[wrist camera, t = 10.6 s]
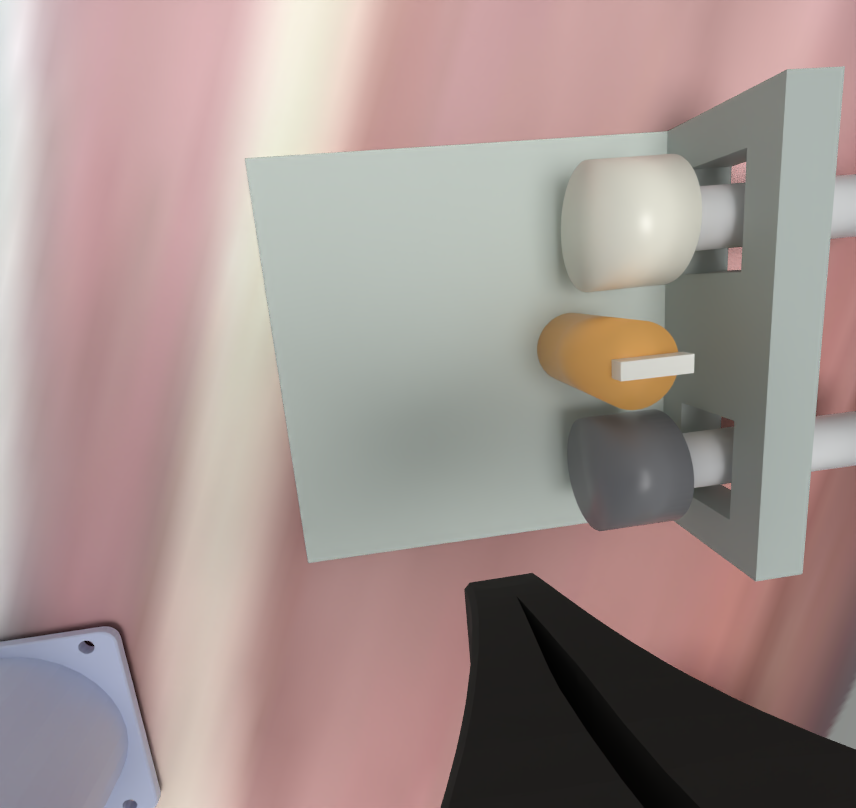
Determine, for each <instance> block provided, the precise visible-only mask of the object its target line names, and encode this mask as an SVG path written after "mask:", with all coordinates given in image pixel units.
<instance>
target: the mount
mask: <svg viewBox="0 0 856 808" xmlns="http://www.w3.org/2000/svg"><path fill="white" fill-rule="evenodd" d="M844 69H845V67H826V68H807V69H788V70H785V71H783V72H781V73H779V74H777V75H775V76H774V77H772V78H770V79H768V80H766V81H764V82H762V83H760V84H758V85H756V86H754V87H752V88H750V89H748V90H746V91H745V92H743V93H741V94H739V95H737V96H735V97H733V98H731V99H729V100H727V101H725V102H723V103H721V104H719V105H717V106H716V107H714V108H712V109H710V110H708V111H706V112H704V113H702V114H700V115H698V116H696V117H694V118H692V119H690V120H688V121H687V122H685V123H683V124H681V125H679V126H677V127H675V128H673V129H671V130H669V131H665V132H649V133H634V134H618V135H602V136H587V137H571V138H555V139H540V140H524V141H509V142H493V143H477V144H462V145H446V146H430V147H415V148H399V149H384V150H368V151H352V152H337V153H321V154H305V155H290V156H274V157H259V158H245V163H246V169H247V175H248V182H249V188H250V195H251V201H252V207H253V214H254V220H255V226H256V233H257V239H258V246H259V252H260V258H261V265H262V271H263V278H264V284H265V290H266V297H267V303H268V309H269V316H270V322H271V329H272V335H273V341H274V348H275V354H276V361H277V367H278V373H279V380H280V386H281V392H282V399H283V405H284V412H285V418H286V424H287V431H288V437H289V444H290V450H291V456H292V463H293V469H294V475H295V482H296V488H297V495H298V501H299V507H300V514H301V520H302V527H303V533H304V539H305V546H306V552H307V558H308V563H312V562H319V561H326V560H333V559H340V558H347V557H354V556H361V555H368V554H375V553H381V552H388V551H395V550H402V549H409V548H416V547H423V546H430V545H437V544H444V543H451V542H458V541H465V540H472V539H479V538H486V537H493V536H499V535H506V534H513V533H520V532H527V531H534V530H541V529H548V528H555V527H562V526H569V525H576V524H583V523H588V522H587V521H586V519H585V518H584V516H583V515H582V513H581V511H580V509H579V507H578V504H577V502H576V499H575V496H574V493H573V490H572V486H571V482H570V477H569V470H568V460H567V446H568V437H569V433H570V430H571V427H572V425H573V423H574V422H575V421H576V420H577V419H579V418H584V417H593V416H601V415H609V414H617V413H625V412H634V411H642V410H650V409H656V410H660V411H662V412H664V413H665V414H667V415H668V416H669V417H670V418H671V419H672V420H673V421H674V422H675V423H676V425H677V426H678V427H679V429H680V431H681V432H682V433H688V432H696V431H703V430H711V429H719V428H721V416H722V417H724V418H727V419H730V420H733V421H734V438H733V460H732V481H731V490H730V489H728V488H726V487H724V486H722V485H720V484H719V485H712V486H705V487H698V488H694V492H693V498H692V502H691V505H690V507H689V509H688V511H687V512H686V514H685V515H684V516H683V517H681V518H680V519H677V520H673V521H675V522H676V523H677V524H679V525H680V526H681V527H683V528H684V529H685V530H687V531H688V532H690V533H691V534H692V535H694V536H695V537H696V538H698V539H699V540H700V541H702V542H703V543H704V544H706V545H707V546H708V547H710V548H711V549H713V550H714V551H715V552H717V553H718V554H719V555H721V556H722V557H723V558H725V559H726V560H727V561H729V562H730V563H731V564H733V565H734V566H736V567H737V568H738V569H740V570H741V571H742V572H744V573H745V574H746V575H748V576H749V577H750V578H752V579H753V580H754V581H762V580H768V579H774V578H780V577H786V576H793V575H799V574H802V572H803V560H804V548H805V536H806V524H807V512H808V500H809V488H810V476H811V464H812V452H813V440H814V428H815V416H816V404H817V392H818V380H819V368H820V356H821V345H822V333H823V321H824V309H825V297H826V285H827V273H828V261H829V249H830V237H831V225H832V213H833V201H834V189H835V177H836V165H837V153H838V141H839V129H840V117H841V105H842V93H843V81H844ZM661 154H677V155H680V156H682V157H683V158H685V159H686V160H687V161H688V162H689V163H690V165H691V166H692V168H693V169H694V171H695V174H696V176H697V179H698V182H699V185H700V186H708V185H721V184H731V167H732V166H734V165H737V164H740V163H743V162H746V182H745V203H744V225H743V246H742V268H741V270H731V271H727V265H728V248H722V249H711V250H700V251H695V252H694V254H693V257H692V259H691V261H690V263H689V265H688V266H687V268H686V269H685V271H684V272H683V273H682V274H681V275H680V276H679V277H678V278H677V279H676V280H675V281H673V282H671V283H669V284H665V285H656V286H646V287H635V288H625V289H615V290H604V291H594V292H582V291H580V290H578V289H577V288H576V287H575V286H574V285H573V283H572V282H571V280H570V278H569V276H568V273H567V270H566V267H565V264H564V259H563V253H562V245H561V215H562V206H563V200H564V196H565V192H566V188H567V185H568V182H569V180H570V177H571V175H572V173H573V171H574V170H575V168H576V167H577V166H578V165H579V164H580V163H581V162H582V161H584V160H589V159H603V158H618V157H632V156H647V155H661ZM566 313H580V314H589V315H598V316H607V317H616V318H625V319H634V320H643V321H650V322H654V323H656V324H658V325H660V326H662V327H663V328H664V329H666V330H667V331H668V332H669V333H670V334H671V336H672V337H673V339H674V341H675V343H676V345H677V349H678V352H687V353H693V354H695V355H694V373H689V374H681V375H677V376H676V379H675V381H674V383H673V385H672V386H671V388H670V390H669V391H668V392H667V393H666V394H665V395H664V396H663V397H662V398H661V399H660V400H659V401H658V402H656V403H654V404H653V405H651V406H649V407H646V408H643V409H638V410H625V409H620V408H618V407H615V406H613V405H611V404H609V403H607V402H604V401H602V400H600V399H598V398H596V397H594V396H591V395H589V394H587V393H585V392H583V391H581V390H578V389H576V388H574V387H572V386H570V385H568V384H565V383H563V382H561V381H559V380H557V379H555V378H553V377H551V376H550V375H548V374H547V373H546V372H545V371H544V369H543V368H542V366H541V364H540V362H539V359H538V354H537V345H538V340H539V337H540V334H541V332H542V331H543V329H544V328H545V326H546V325H547V324H548V323H549V322H550V321H551V320H553V319H554V318H556V317H557V316H560V315H562V314H566Z"/></svg>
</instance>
